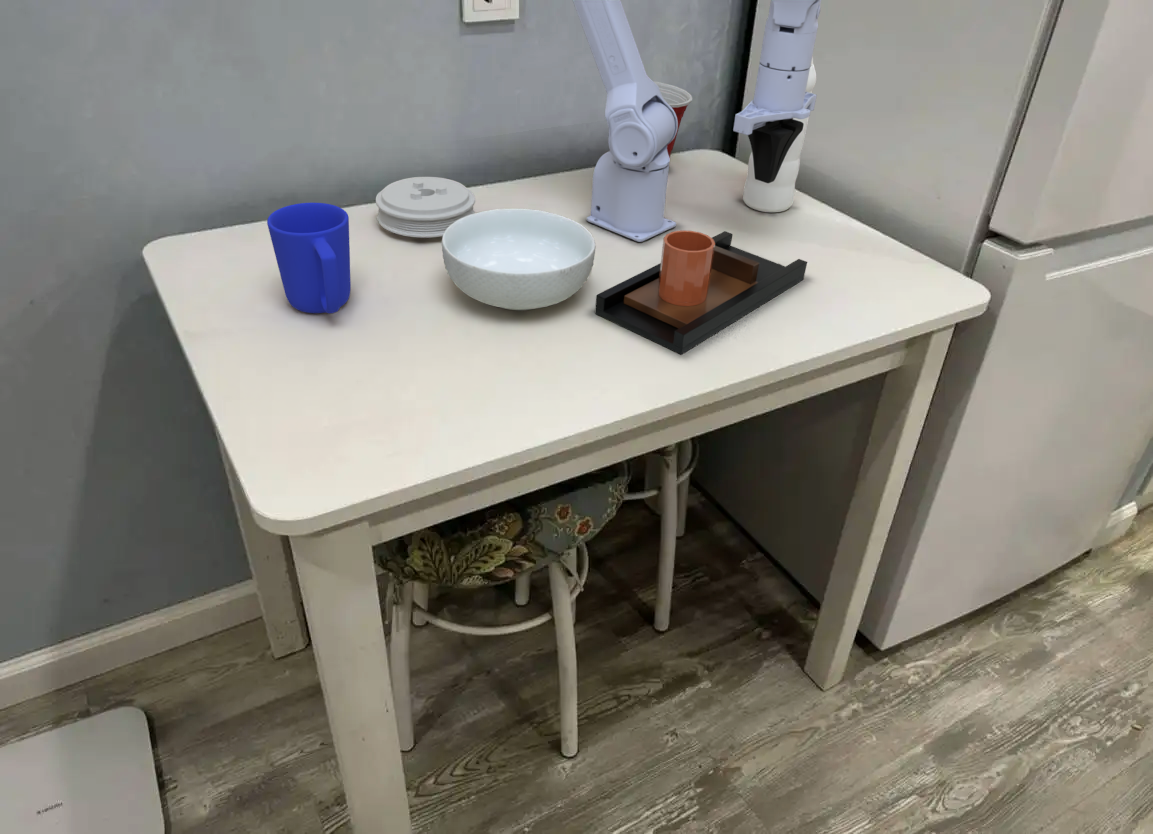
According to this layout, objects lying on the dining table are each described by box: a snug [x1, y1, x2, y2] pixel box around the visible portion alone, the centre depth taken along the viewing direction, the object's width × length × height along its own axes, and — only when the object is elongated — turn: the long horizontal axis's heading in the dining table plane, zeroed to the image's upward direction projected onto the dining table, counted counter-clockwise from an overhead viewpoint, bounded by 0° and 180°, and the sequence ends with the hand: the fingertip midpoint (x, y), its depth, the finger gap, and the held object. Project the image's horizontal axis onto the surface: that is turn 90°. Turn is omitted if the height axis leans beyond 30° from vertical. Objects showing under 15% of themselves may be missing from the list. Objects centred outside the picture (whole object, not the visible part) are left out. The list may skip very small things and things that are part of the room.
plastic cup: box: [652, 80, 693, 158], centre depth 133 cm, size 11×11×12 cm
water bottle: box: [742, 56, 817, 213], centre depth 120 cm, size 7×7×25 cm
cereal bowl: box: [441, 208, 597, 311], centre depth 100 cm, size 17×17×7 cm
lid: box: [375, 176, 476, 238], centre depth 116 cm, size 13×13×5 cm
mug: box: [266, 202, 352, 314], centre depth 95 cm, size 8×12×10 cm
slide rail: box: [594, 230, 808, 355], centre depth 103 cm, size 12×25×2 cm, turn 138°
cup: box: [658, 229, 715, 306], centre depth 98 cm, size 6×6×6 cm
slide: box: [624, 246, 759, 328], centre depth 101 cm, size 9×14×3 cm, turn 138°
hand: (764, 180), depth 109 cm, fingers closed
